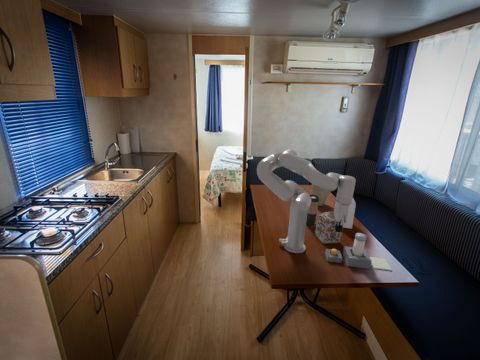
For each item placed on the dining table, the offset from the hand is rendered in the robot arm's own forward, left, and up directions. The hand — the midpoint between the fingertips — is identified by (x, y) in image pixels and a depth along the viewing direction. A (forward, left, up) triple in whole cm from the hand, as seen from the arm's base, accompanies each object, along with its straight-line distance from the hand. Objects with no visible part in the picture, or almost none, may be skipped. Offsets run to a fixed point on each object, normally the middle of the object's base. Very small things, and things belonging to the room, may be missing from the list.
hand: (338, 230), depth 140 cm
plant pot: (+2, +77, -17) cm, 79 cm away
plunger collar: (0, 0, -17) cm, 17 cm away
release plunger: (0, 0, -16) cm, 16 cm away
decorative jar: (0, +21, -17) cm, 27 cm away
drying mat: (+25, 0, -17) cm, 30 cm away
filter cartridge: (+12, 0, -17) cm, 21 cm away
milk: (+14, +45, -17) cm, 50 cm away
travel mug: (-9, +40, -17) cm, 45 cm away
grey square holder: (+12, 0, -17) cm, 21 cm away
